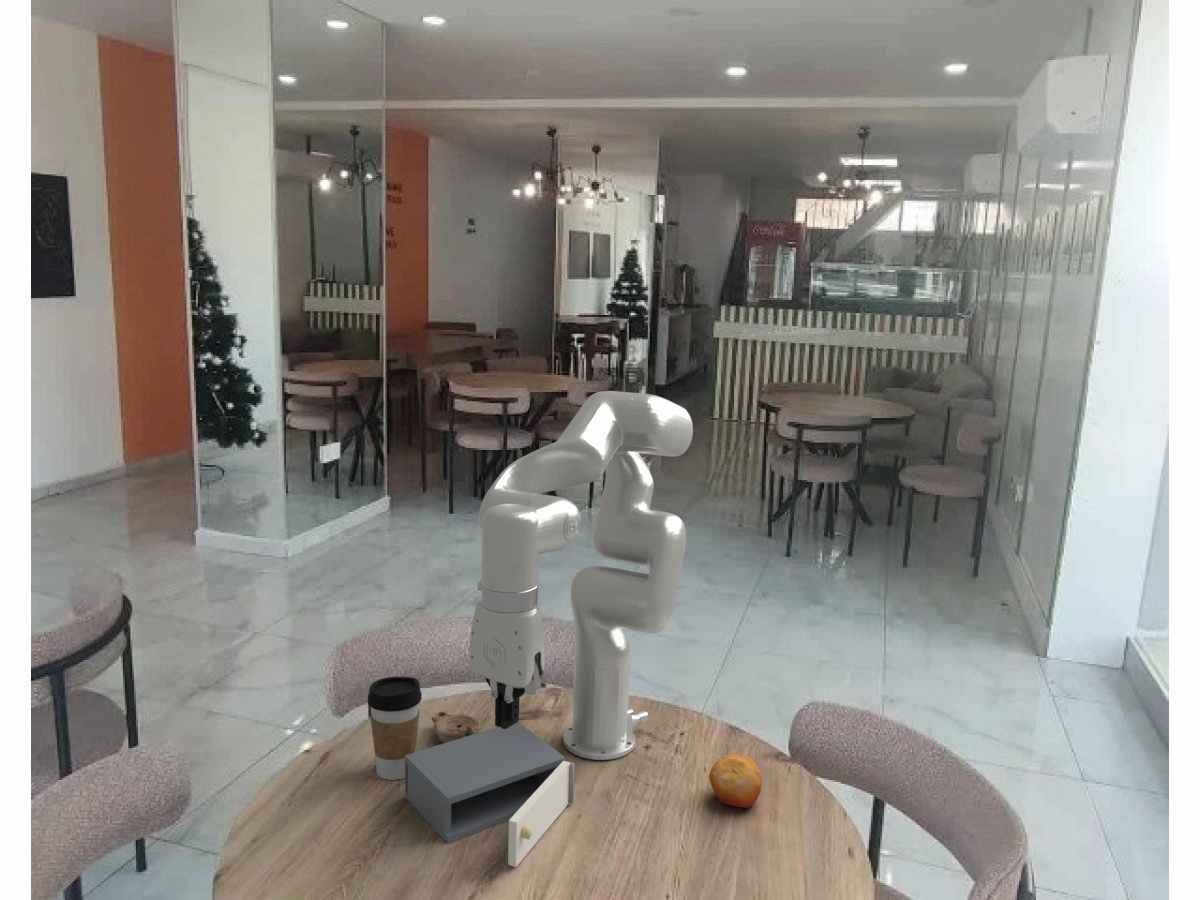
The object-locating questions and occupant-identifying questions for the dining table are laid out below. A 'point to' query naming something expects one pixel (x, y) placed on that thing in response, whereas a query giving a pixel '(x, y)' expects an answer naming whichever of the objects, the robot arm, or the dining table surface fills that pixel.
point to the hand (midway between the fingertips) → (506, 723)
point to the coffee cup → (394, 723)
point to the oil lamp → (454, 726)
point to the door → (540, 812)
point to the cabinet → (477, 779)
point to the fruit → (736, 780)
